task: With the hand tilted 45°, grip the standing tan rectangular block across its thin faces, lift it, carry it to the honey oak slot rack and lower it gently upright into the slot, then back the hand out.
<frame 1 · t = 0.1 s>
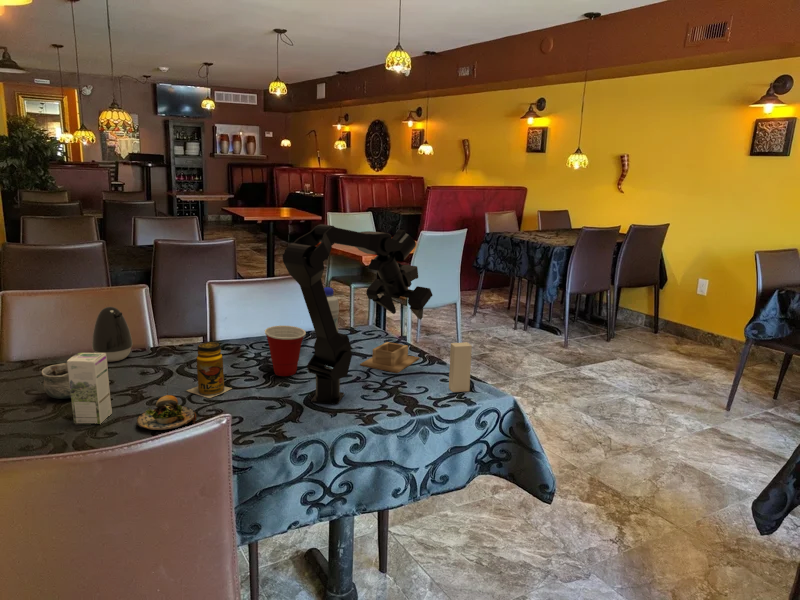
hand: (407, 315, 159), 15 cm above the table, tool tilted 35°, fingers open, 9 cm apart
dark grey egg shape: (114, 359, 162), on the table
plastic cup: (286, 373, 155), on the table
slot rack: (390, 362, 165), on the table
tan rectangular block: (458, 389, 146), on the table
mug: (75, 396, 136), on the table
syrup box: (93, 420, 124), on the table
burger: (167, 424, 123), on the table
bottle: (328, 352, 173), on the table
condiment: (209, 391, 141), on the table
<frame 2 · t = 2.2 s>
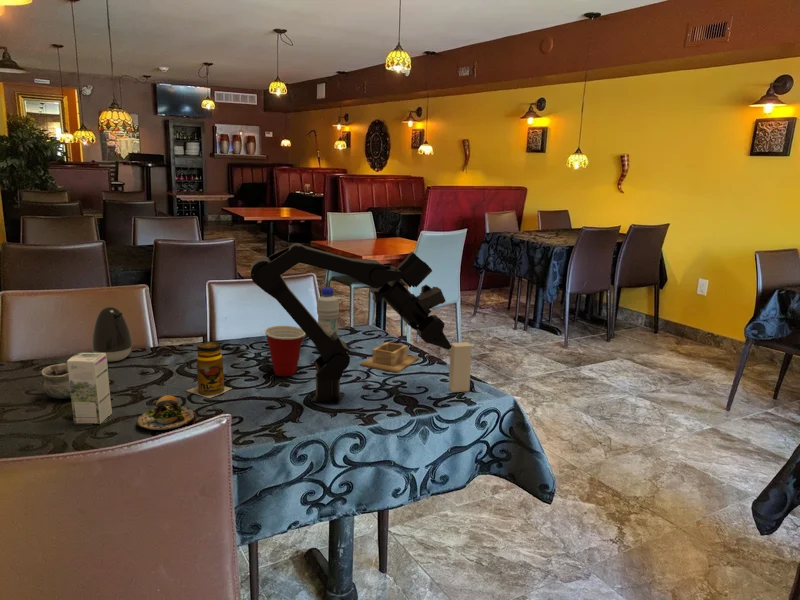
hand: (444, 342, 142), 13 cm above the table, tool tilted 45°, fingers open, 9 cm apart
nothing on the table moved.
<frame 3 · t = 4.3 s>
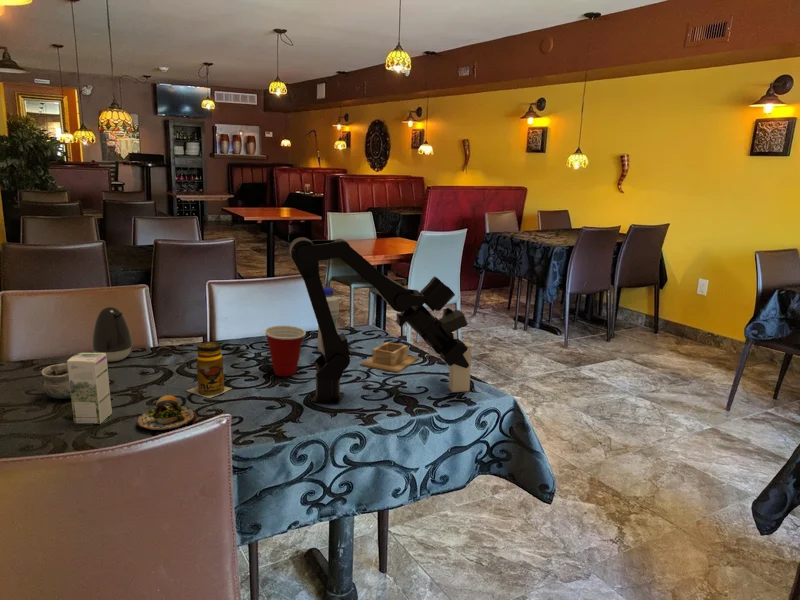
hand: (465, 364, 145), 7 cm above the table, tool tilted 45°, fingers closed on tan rectangular block, 3 cm apart
tan rectangular block: (459, 389, 146), on the table, touching gripper
everything else where it was.
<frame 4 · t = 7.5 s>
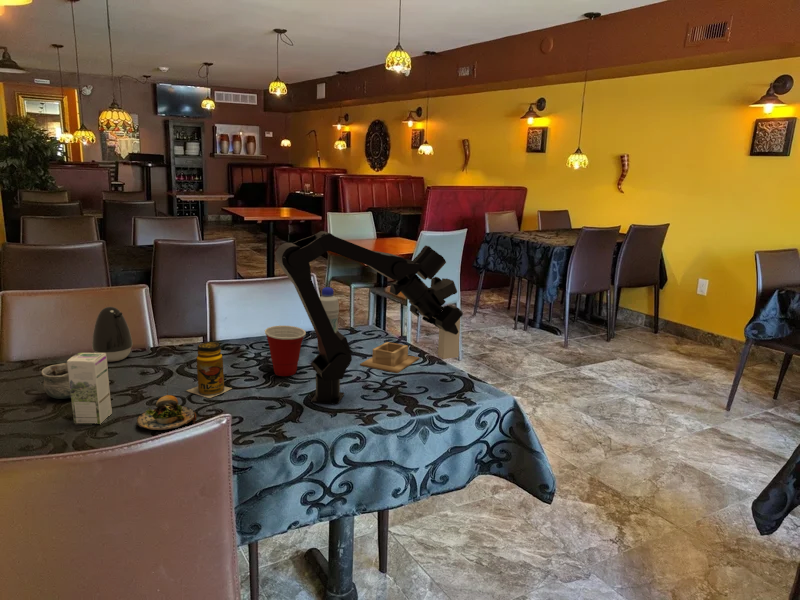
hand: (453, 331, 149), 13 cm above the table, tool tilted 45°, fingers closed on tan rectangular block, 3 cm apart
tan rectangular block: (448, 356, 150), point 7 cm above the table, touching gripper
everything else where it was.
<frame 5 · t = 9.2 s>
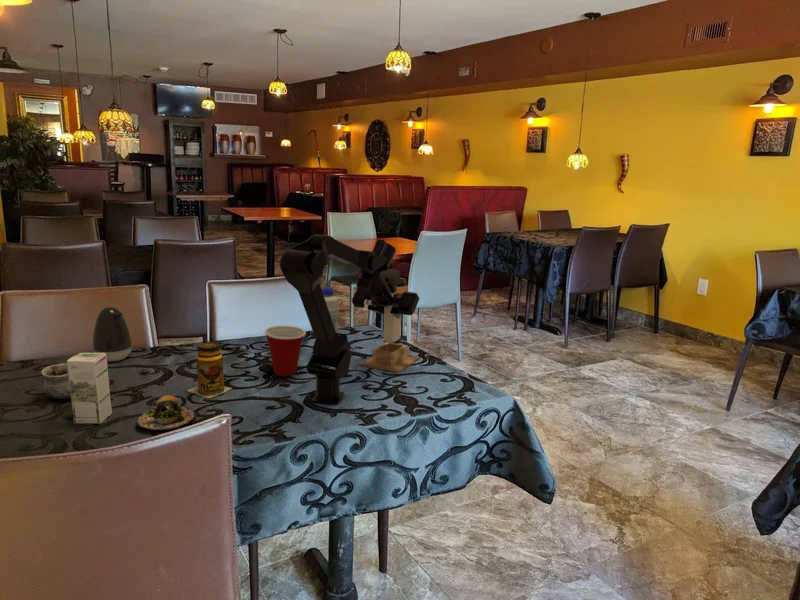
hand: (394, 316, 163), 13 cm above the table, tool tilted 45°, fingers closed on tan rectangular block, 3 cm apart
tan rectangular block: (391, 339, 164), point 7 cm above the table, touching gripper
everything else where it was.
when the fingers open (8 cm above the table, at t = 10.7 s): tan rectangular block drops 1 cm, resting on slot rack.
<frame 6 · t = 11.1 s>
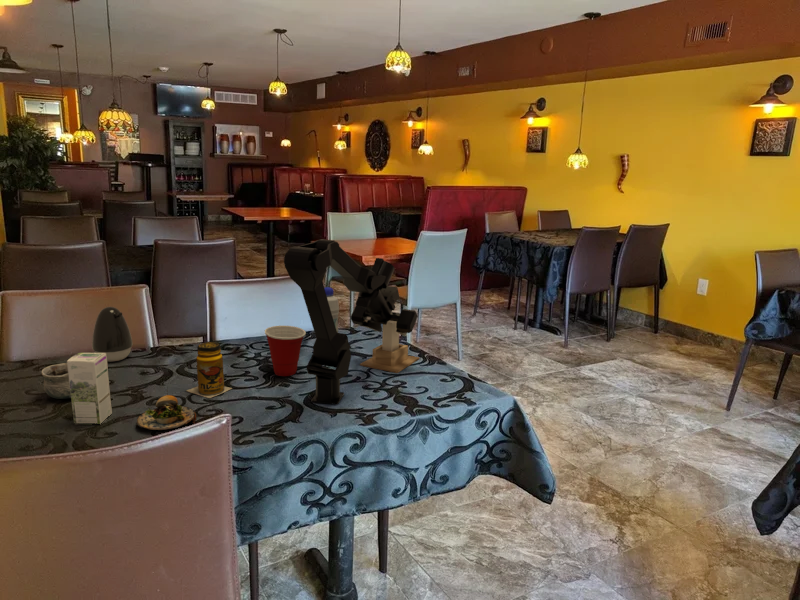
hand: (393, 332, 165), 9 cm above the table, tool tilted 45°, fingers open, 8 cm apart
tan rectangular block: (390, 360, 165), point 1 cm above the table, touching slot rack
everything else where it was.
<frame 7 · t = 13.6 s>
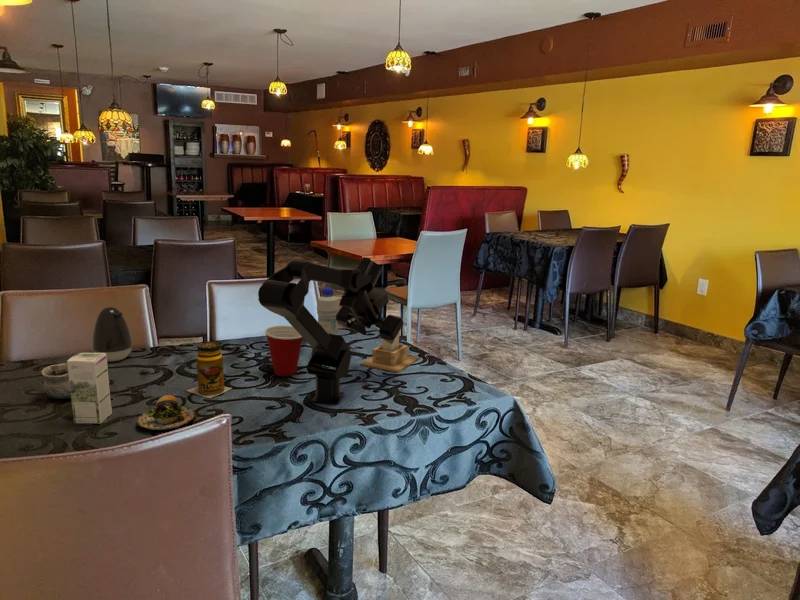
hand: (378, 338, 157), 9 cm above the table, tool tilted 40°, fingers open, 9 cm apart
nothing on the table moved.
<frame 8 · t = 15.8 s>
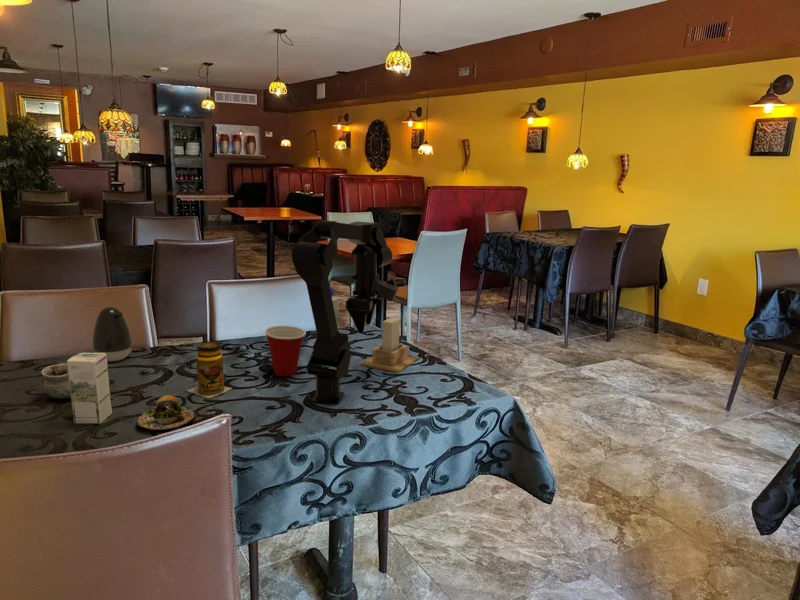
hand: (364, 328, 152), 13 cm above the table, tool pointing down, fingers open, 9 cm apart
nothing on the table moved.
at the end: tan rectangular block 0.0 cm off-centre on the slot rack, point 0.5 cm above the slot rack's base; tan rectangular block tilted 0°; the gripper is holding nothing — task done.
